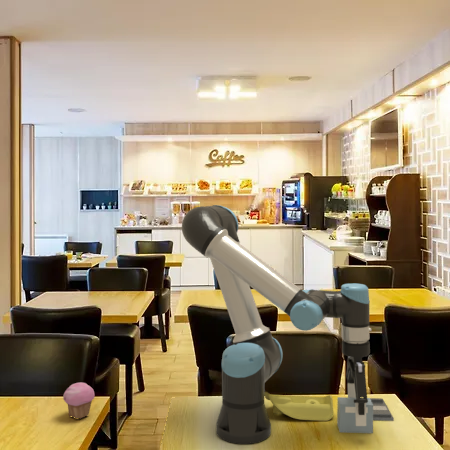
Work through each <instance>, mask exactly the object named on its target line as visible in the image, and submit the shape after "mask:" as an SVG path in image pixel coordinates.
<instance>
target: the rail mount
mask: <svg viewBox="0 0 450 450" xmlns="http://www.w3.org/2000/svg"><path fill="white" fill-rule="evenodd" d="M369 398H370V397H369ZM370 400H371V402H372V404H373V421H383V422H384V421H389V422H394V418H395V417H394V416H393V414H392V413H391V410H390V409H389V407H388V405H387V403H386V401H385V400H384V399H383V398H382V397H381V398H378V397H377V398H372V397H371V398H370Z"/></svg>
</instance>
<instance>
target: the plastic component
mask: <svg viewBox="0 0 450 450" xmlns="http://www.w3.org/2000/svg"><path fill="white" fill-rule="evenodd" d="M264 399H266V400H267V401H270V402H271V403H272V408H273V409H272V410H273V411H272V413H273V414H284V415H286V416H288V417H290V418H293V419H295V420H299V421H320V422H321V421H322V422H323V421H324V422H327V421H330V420H331V419H333V416H334V403H333V402H334V399H333V395H332V394H329V395H325V396H308V395H307V396H305V395H304V396H303V395H286V394H285V395H283V394H272V393H271V394H270V393H269V392H268V391H264Z"/></svg>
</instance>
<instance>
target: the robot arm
mask: <svg viewBox="0 0 450 450" xmlns="http://www.w3.org/2000/svg"><path fill="white" fill-rule="evenodd" d="M238 230H239V221H238V218H237V215H236V214H235V212H233V210H231V209H230V208H228V207H226V206H223V205H219V204H214V205H213V204H212V205H207V206H205V205H204V206H196V207H193V208H192V209H190V210H188V212H187V213H185V215H184V217H183V218H182V223H181V232H182V233H181V234H182V235H183V238H184V239H185V241H186V242H187V244H189V245H190V246H191V247H192V248H194V249H195V250H196V251H197V252H199V254H201V255H203V257H205V258H206V259H207V258H208V259H210V263H211V265H212V267H213V271H214V274H215V278H216V280H217V282H218V285H219V289H220V291H221V295H222V297H223V300H224V303H225V307H226V309H227V313H228V315H229V318H230V321H231V324H232V327H233V329H234V333H235V335H234V337H233V340H232V343H233V344H232V345H230V346H228V347H227V348H225V350H223V353H222V357H221V358H222V359H221V390H222V391H221V397H222V401H221V402H222V403H221V407H220V411H219V413H218V417H217V420H216V425H215V426H216V427H215V430H216V431H215V432H216V435H217V437H218V438H219V439H221V440H224V441H225V442H228V443H233V444H240V445H249V444H251V445H252V444H256V443H259V442H263V441H264V440H267V439H268V438H269V437H270V436H271V434H272V433H271V432H272V425H271V421H270V418H269V417H270V416H269V415H268V411H267V408H266V404H265V396H264V393H265V383H266V382H267V381H268V380H269V379H270V378H271V377H272V376H273V375H274V374H275V373H276V372H277V371H278V370H279V368H280V366H281V364H282V361H283V355H284V354H283V349H282V346H281V344H280V342H279V341H278V340H277V339H276V338H274V337H273V336H272V331H271V329H270V327H267V326H265V325H264V324H263V322H262V319H261V315H260V313H259V310H258V307H257V304H256V302H255V299H254V295H253V292H252V289H253V290H254V291H256V292H257V293H259V294H260V295H261V296H262V297H264V299H266V300H268V301H269V302H270V303H272V304H273V305H274V306H275V307H276V308H278V309H279V310H281V311H282V312H284V314H286V315H287V316H288V317H289V318H290V319H289V320H290V321H291V323H292V325H293V326H294V327H295V329H298V330H299V331H303V332H304V331H305V332H307V331H311V330H313V329H314V328H316V327H318V326H320V324H321V323H322V321H323V320H324V319H325V318H328V319H329V318H333V319H341V324H340V325H341V339H342V340H341V353H342V354H343V355H344V356H347V363H346V364H347V365H346V375H345V377H346V380H347V381H346V382H347V398H356V400H354V403H355V419H356V426H366V403H367V402H368V400H367V398H368V391H367V381H366V380H367V379H366V365H365V362H364V361H363V358H364V357H365V358H366V357H368V356H369V355H370V353H371V349H370V348H371V346H370V345H371V344H370V343H371V342H370V341H369V340H370V332H372V329H373V328H371V327H370V292H369V287H368V286H367V285H366V284H363V283H344V284H342V285H341V286H340V289H339V290H322V289H320V290H319V289H301V288H300V287H299V286H297V285H296V284H294V283H293V282H292V281H290V280H289V279H288V278H287V277H285V276H284V275H282V274H281V273H280V272H279V271H277V270H276V269H274V268H273V267H272V266H271V265H269V264H268V263H266V262H265V261H263V260H262V259H261V258H259V257H258V256H257V255H256V254H254V253H252V252H251V251H250V250H249V249H247V248H246V247H244V246H243V245H242V244H241V241H240V239H239V234H238Z"/></svg>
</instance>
